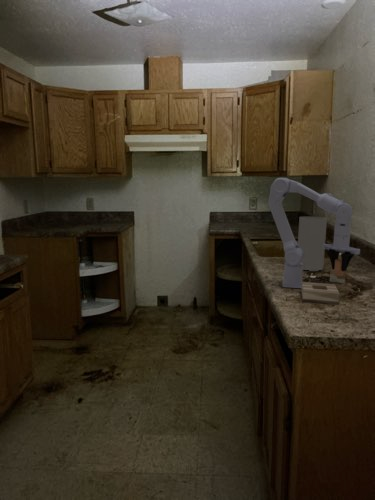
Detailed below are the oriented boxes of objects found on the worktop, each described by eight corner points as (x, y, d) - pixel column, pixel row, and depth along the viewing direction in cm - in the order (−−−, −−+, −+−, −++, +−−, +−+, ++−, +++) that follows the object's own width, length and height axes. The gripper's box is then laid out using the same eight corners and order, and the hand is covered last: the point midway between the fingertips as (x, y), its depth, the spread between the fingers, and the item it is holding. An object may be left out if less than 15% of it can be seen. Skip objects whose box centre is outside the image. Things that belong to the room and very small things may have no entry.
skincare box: (329, 281, 163) (331, 253, 160) (329, 279, 167) (331, 252, 164) (345, 283, 160) (348, 254, 158) (345, 281, 164) (347, 253, 162)
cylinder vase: (328, 270, 183) (332, 218, 179) (307, 272, 179) (311, 219, 174) (311, 265, 195) (314, 216, 190) (291, 267, 190) (294, 216, 186)
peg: (333, 273, 150) (334, 258, 149) (342, 274, 150) (344, 259, 149) (334, 275, 147) (335, 260, 146) (344, 276, 146) (345, 261, 145)
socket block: (301, 292, 147) (301, 282, 146) (334, 294, 144) (334, 284, 144) (302, 301, 136) (303, 290, 135) (338, 304, 133) (339, 293, 132)
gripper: (319, 233, 149) (316, 267, 151) (353, 238, 137) (350, 275, 140) (329, 232, 153) (327, 265, 156) (364, 237, 142) (361, 272, 144)
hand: (339, 269), depth 148 cm, fingers closed on peg, 3 cm apart
